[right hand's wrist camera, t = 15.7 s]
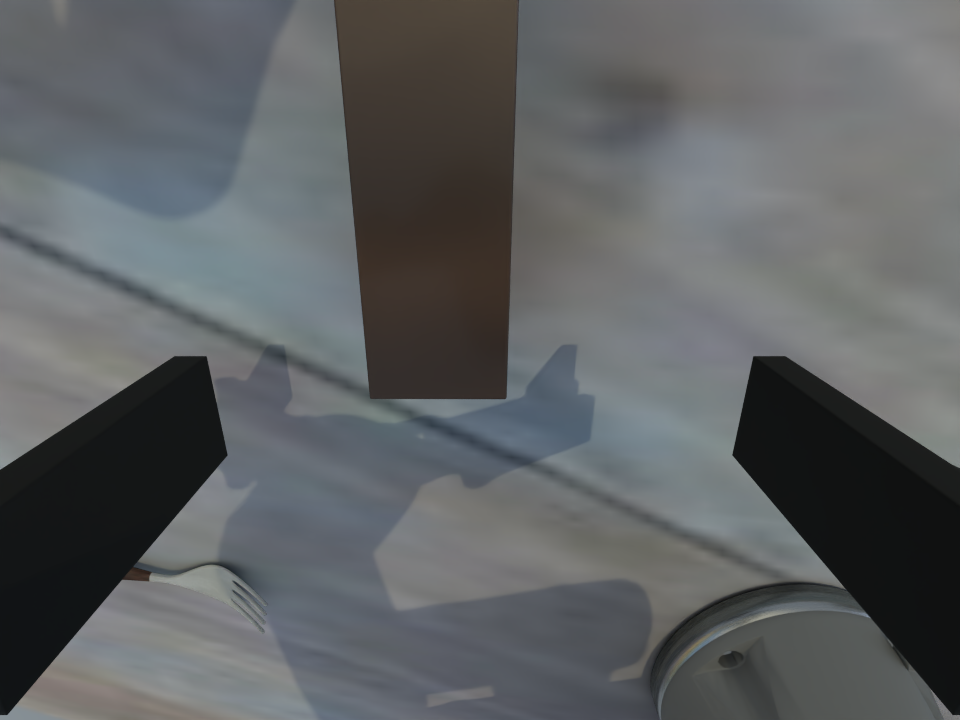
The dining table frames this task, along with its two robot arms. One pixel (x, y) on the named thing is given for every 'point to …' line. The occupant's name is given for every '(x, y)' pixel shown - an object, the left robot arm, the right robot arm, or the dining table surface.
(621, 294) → the dining table surface
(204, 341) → the dining table surface
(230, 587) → the fork
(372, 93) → the walnut beam
